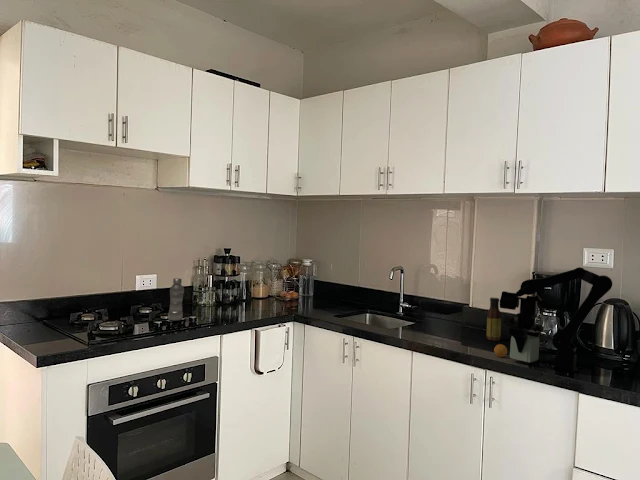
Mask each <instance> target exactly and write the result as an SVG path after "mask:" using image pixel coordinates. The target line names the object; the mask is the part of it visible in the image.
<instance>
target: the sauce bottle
mask: <svg viewBox="0 0 640 480" xmlns="http://www.w3.org/2000/svg"><path fill="white" fill-rule="evenodd" d="M489 302H490V306H489V309H488V310H487V317H486V339H487V340H488V341H491V342H499V341H501V335H502V334H501V333H502V332H501V331H502V330H501V329H502V316H501V314H502V313H501V311H500V309H499V308H500V298H499V297H490V298H489Z"/></svg>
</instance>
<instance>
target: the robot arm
mask: <svg viewBox="0 0 640 480" xmlns="http://www.w3.org/2000/svg"><path fill="white" fill-rule="evenodd" d="M577 279H580V280H582V281H584V282H585V283H586V284H587V283H588V284H590V285H591V288H590V290H589V293H588V295H587V296H586V298H585V299H584V301H583V302H582V304H581V305H580V306H579V307H578V309H577V310H576V312H575V313H574V315H573V316H572V317H571V319H570V320H569V321H568V322H567V324H566V325H565V326H562V325H559V327H558V328H557V330H556V332H555V333H554V334H553V335H552V346H553V347H554V348H555V349H556V350H557V351H556V355H554V365H553V366H554V367H553V370H557V371H561V372H565V373H570V374H573V373H575V372H577V371H578V368H577V354H575V353H576V350H577V346H575V344H574V343H573V342H572V341H573V338H574V336H575V333H576V331H577V330H578V328H579V327H580V326H581V325H582V323H583V322H584V321H585V319H586V317H587V316H588V315H589V313H590V312H591V310H592V309H593V307H594V306H595V305H596V304H597V303H598V301H600V300H601V299H602V298H603V297H604V296H605V295H606V294H607V293H608V292H610V290H611V289H612V287H613V280H612V279H611V277H609V276H608V275H604V274H603V275H602V274H601V275H599V274H596V273H594V272H592V271H589V270H587V269H585V268H583V267H576V268H574V269H571V270H567V271H563V272H560V273H556V274H554V275H550V276H547V277H540V278H531V279H529V278H528V279H526V280H523V281H522V283H520V289H518V290H517V291H516V292H509V291H501V295H500V298H499V308H500V309H503V310H505V309H506V310H512V311H513V310H517V309H518V308H519V312H517V314H516V316H515V317H511V315H505V316H504V318H503V321H502V324H504V325H505V327H506V328H507V327H508V328H507V330H508V331H507V333H508V334H509V335H510V336H511V337H512V336H513V337H514V338H515V341H516V344H517V349H518V352H520V353H521V352H522V350H523V348H524V346H525V343H526V341H527V338H528V336H527V335H530V336H535V337H539V338H540V337H541V335H542V333H544V330H545V329H544V328H545V327H544V326H543V325H542V324H540V323H536V318H538V314H536V312H537V311H536V309H537V302H540V303H541V302H542V301H543V298H541V297H540V296H539V295H538V294H536V293H538V292H540V291H543V290H544V289H546V288H548V287H553V286H556V285H560V284H563V283H567V282H570V281H573V280H577ZM533 294H536V295H535V296H534V295H533ZM524 295H527V296H526V297H522V296H524ZM532 295H533V296H532ZM516 308H517V309H516Z"/></svg>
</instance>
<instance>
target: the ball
mask: <svg viewBox="0 0 640 480" xmlns="http://www.w3.org/2000/svg"><path fill="white" fill-rule="evenodd" d="M493 353H494V354H495V355H496V356H497V357H499V358H503V357H505V356H506V355H507V354H508V348H507V347H506V346H505V345H504V344H502V343H501V344H500V343H498V344H496V346H495V347H494V349H493Z"/></svg>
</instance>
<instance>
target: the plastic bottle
mask: <svg viewBox="0 0 640 480" xmlns="http://www.w3.org/2000/svg"><path fill="white" fill-rule="evenodd" d="M182 279H183V278H179V277H178V278H173V279H172V280H173V281H172V285H171V286H170V289H169V298H170V299H169V300H170V302H169V310H168V313H167V318H168V320H169V321H173V322H178V321H181V320H183V313H184V312H183V298H184V293H185V288H184V286H183V285H182Z"/></svg>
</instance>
